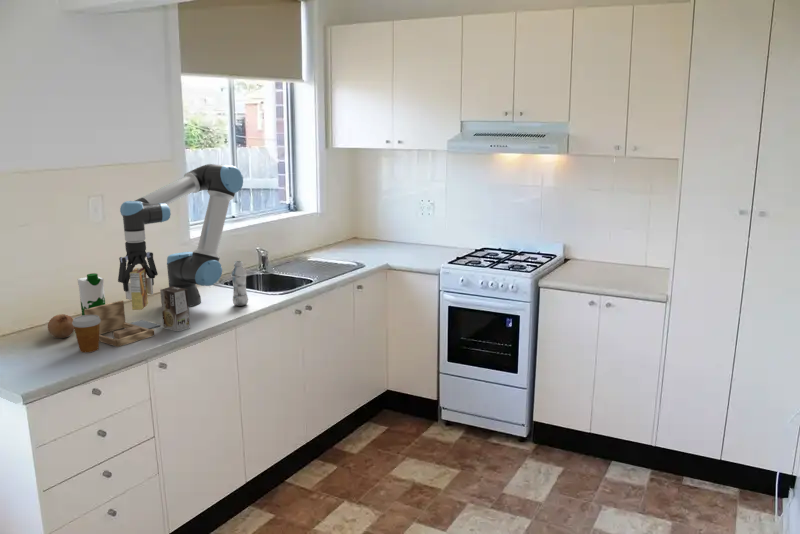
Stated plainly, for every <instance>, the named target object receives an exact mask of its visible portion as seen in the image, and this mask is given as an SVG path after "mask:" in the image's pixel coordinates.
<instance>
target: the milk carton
mask: <svg viewBox="0 0 800 534" xmlns="http://www.w3.org/2000/svg"><path fill="white" fill-rule="evenodd" d="M98 275H99V274H98V273H95V272H94V273H88V274H86V277H80V278H77V285H78V291H79V299H80V301H79V302H80V308H81V316H83V315H85V313H84V310H85V309H89V308H93V307H97V306H101V305H105V304H106V295H105V288H104V287H105V285H104V281H105V280H104V278H103V277H101V276H98Z"/></svg>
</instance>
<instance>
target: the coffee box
mask: <svg viewBox="0 0 800 534" xmlns="http://www.w3.org/2000/svg"><path fill="white" fill-rule="evenodd" d="M160 302H161V313H162V325H163V329H166V330H171V331H174V332H181V331H183V330H187V329H190V327H191V325H190V312H189V310H190V309H189V307H188V295H187V289H184V288H179V287H174V286H172V287H169V286H168V287H166V288H161V289H160Z"/></svg>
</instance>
